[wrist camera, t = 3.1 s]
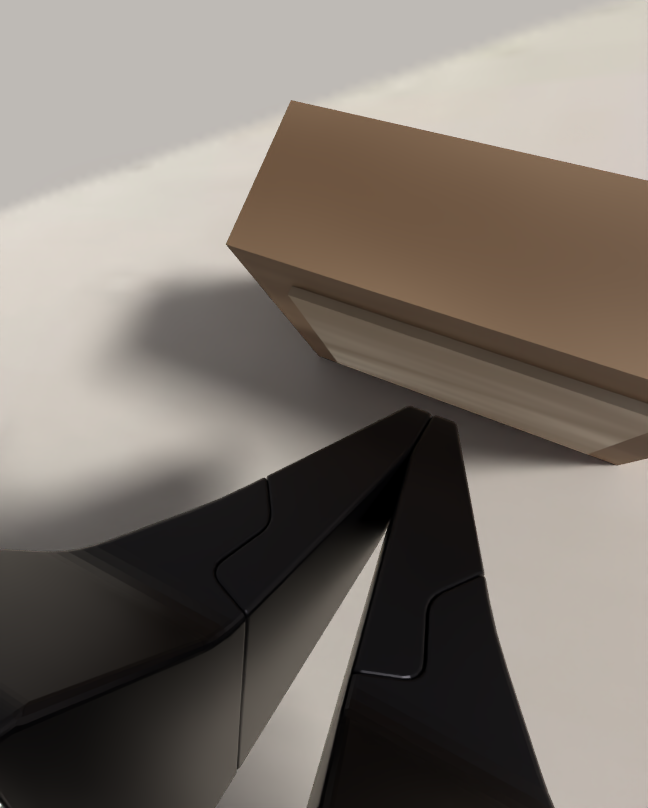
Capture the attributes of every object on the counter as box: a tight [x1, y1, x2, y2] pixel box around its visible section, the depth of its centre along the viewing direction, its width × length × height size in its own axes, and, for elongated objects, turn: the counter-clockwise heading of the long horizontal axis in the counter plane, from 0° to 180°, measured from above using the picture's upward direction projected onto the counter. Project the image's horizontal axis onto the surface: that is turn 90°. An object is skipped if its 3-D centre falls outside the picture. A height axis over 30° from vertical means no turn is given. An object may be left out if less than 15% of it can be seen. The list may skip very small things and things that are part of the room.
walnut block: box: [226, 100, 648, 465], centre depth 12 cm, size 3×9×8 cm, turn 67°
